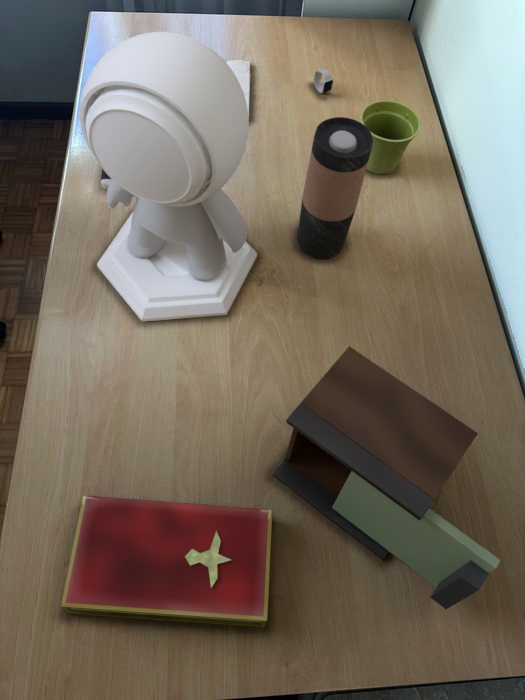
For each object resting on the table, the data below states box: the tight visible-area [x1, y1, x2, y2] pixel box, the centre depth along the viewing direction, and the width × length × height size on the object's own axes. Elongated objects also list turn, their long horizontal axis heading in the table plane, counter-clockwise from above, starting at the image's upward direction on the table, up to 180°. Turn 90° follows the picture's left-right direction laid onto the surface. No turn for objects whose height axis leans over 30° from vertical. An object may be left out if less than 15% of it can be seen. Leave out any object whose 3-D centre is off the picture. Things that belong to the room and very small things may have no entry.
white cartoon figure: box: [79, 31, 258, 322], centre depth 81 cm, size 20×23×35 cm
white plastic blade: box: [225, 59, 251, 120], centre depth 116 cm, size 5×15×1 cm, turn 179°
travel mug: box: [296, 116, 373, 260], centre depth 92 cm, size 8×8×20 cm
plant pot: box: [359, 99, 422, 175], centre depth 106 cm, size 9×9×9 cm
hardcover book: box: [60, 494, 273, 628], centre depth 72 cm, size 12×21×4 cm, turn 87°
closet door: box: [332, 471, 502, 610], centre depth 69 cm, size 3×16×14 cm, turn 52°
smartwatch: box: [313, 68, 334, 94], centre depth 117 cm, size 4×2×4 cm, turn 32°
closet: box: [272, 345, 479, 561], centre depth 74 cm, size 11×16×16 cm
